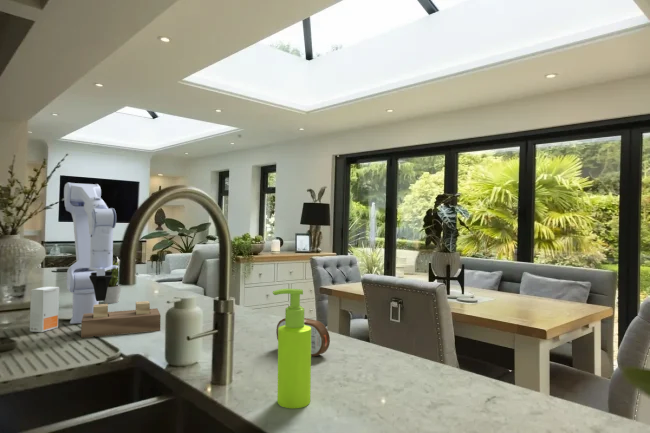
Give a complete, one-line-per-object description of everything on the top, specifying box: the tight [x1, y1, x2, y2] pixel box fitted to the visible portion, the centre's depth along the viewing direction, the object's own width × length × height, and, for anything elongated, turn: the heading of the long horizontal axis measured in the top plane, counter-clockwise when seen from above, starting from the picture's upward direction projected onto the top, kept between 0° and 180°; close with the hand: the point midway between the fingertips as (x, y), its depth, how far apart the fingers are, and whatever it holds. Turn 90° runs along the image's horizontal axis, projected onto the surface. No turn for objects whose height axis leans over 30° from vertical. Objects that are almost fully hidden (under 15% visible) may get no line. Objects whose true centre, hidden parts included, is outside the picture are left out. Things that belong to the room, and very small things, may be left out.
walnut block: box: [80, 308, 162, 339], centre depth 128 cm, size 10×20×4 cm, turn 116°
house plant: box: [102, 259, 122, 304], centre depth 170 cm, size 14×14×16 cm
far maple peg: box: [135, 300, 151, 315], centre depth 130 cm, size 4×4×4 cm
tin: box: [275, 317, 331, 357], centre depth 108 cm, size 15×3×8 cm, turn 55°
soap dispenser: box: [272, 288, 312, 409], centre depth 79 cm, size 6×7×20 cm
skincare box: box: [29, 286, 60, 333], centre depth 127 cm, size 6×4×12 cm
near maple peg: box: [93, 303, 109, 318], centre depth 125 cm, size 4×4×4 cm
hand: (100, 298), depth 125 cm, fingers open, 7 cm apart
